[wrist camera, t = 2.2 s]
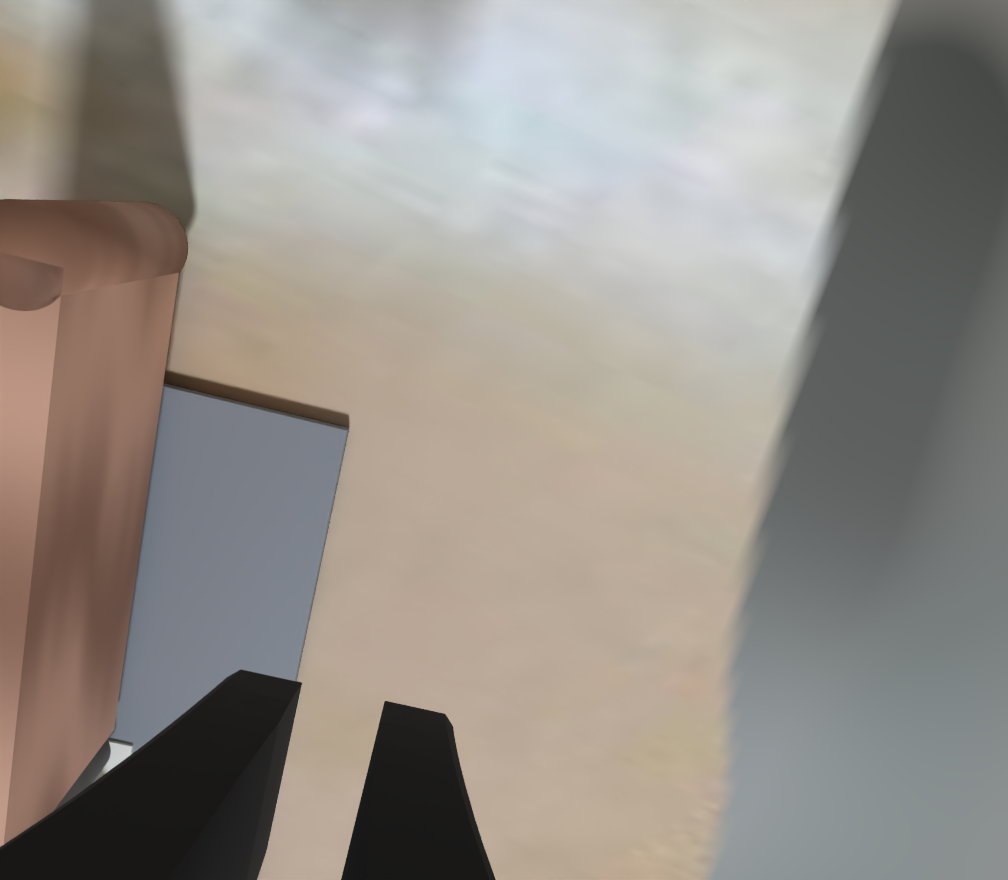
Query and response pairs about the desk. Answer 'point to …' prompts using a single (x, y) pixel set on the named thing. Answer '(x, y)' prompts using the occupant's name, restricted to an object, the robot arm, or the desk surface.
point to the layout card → (223, 554)
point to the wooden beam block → (73, 476)
